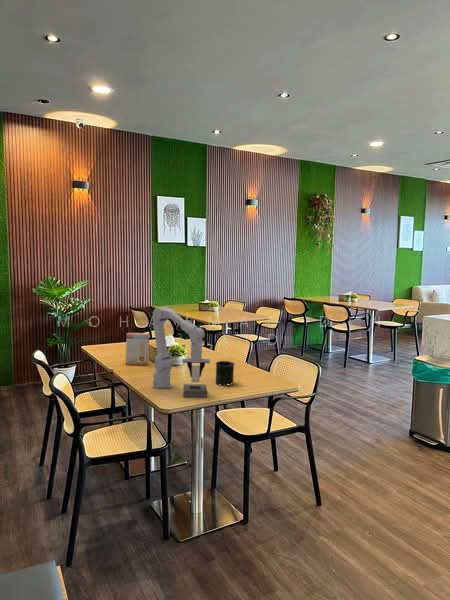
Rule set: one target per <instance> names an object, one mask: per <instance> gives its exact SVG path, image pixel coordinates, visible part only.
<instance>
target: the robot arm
mask: <svg viewBox="0 0 450 600" xmlns="http://www.w3.org/2000/svg"><path fill="white" fill-rule="evenodd" d="M152 318H153V320H152V326H153V331H154V339H155V345H156V351H157V354H156V356H155V357H154V368H155V370H154V369H153V375H152V376H153V377H152V378H153V380H152V388H154V389H170V388H171V387H172V386H171V385H172V383H171V370H172V368H173V367H174V365H175V364H174V360H173V358H172V354H171V353H169V351H168V348H167V347H168V346H167V341H166V335H165V325H164V324H165V323H166V321H167V320H169V319H170V320H172V322H174V323H176V324H178V325H179V326H180V329H181V330H182V331H184V332H185V333H186V334H187V335H188V337H189V339H190V343H191V344H190V358H189V357H188V358H182V359H181V363H182V364H187V367H188V371H189V374H190V375H189V376H190V378H192V366H193V364H199V366H200V377H199V378H201V377H202V372H203V370H204V368H205V366H206V364H211V359H210V358H203V357H202V356H203V355H202V354H203V353H202V352H203V351H202V350H203V338H205V335H206V334H205V330H204V329H203V328H202V327H198V326H197V325H195V324H194V323H192V321H191V320H189V319H186V320H185V319H183V318H182V317H181V316H180V315H179V314H178V313H177V312H176V311H175V309H173V308H172V307H171V306H164V307H156V308H154V310H153V311H152Z"/></svg>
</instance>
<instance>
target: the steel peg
mask: <svg viewBox="0 0 450 600" xmlns="http://www.w3.org/2000/svg"><path fill="white" fill-rule="evenodd" d="M200 378H201V377H200V365H192V377H191V383H200Z"/></svg>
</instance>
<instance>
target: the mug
mask: <svg viewBox="0 0 450 600" xmlns="http://www.w3.org/2000/svg"><path fill="white" fill-rule="evenodd" d="M215 366H216V368H215V384H216V383H217V384H216V385H218V384H221V385H220V386H222V385H227V384H231V383H233V384H234V374H235V372H234V370H235V369H234V367H235V362H232V361H228V360H227V361H226V360H221V361H217V362H215Z"/></svg>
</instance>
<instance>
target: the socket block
mask: <svg viewBox="0 0 450 600" xmlns="http://www.w3.org/2000/svg"><path fill="white" fill-rule="evenodd" d="M183 391H184V392H183V398H197V397H207V398H208V388H207V384H204V383H203V384H202V383H201V384H199V383H198V384H197V383H196V384H195V383H194V384H193V383H192V384H191V383H190V384H189V383H187V384H186V383H183Z"/></svg>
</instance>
